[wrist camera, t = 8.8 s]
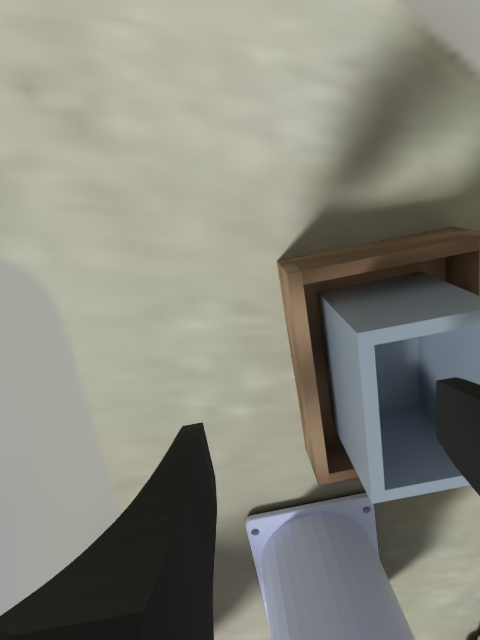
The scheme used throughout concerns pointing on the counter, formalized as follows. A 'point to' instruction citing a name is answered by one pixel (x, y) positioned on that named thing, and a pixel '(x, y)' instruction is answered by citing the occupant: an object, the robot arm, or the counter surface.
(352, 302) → the grey crate
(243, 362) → the counter surface
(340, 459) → the walnut crate
